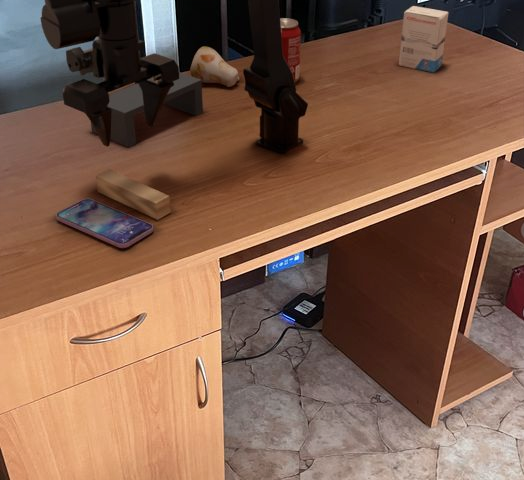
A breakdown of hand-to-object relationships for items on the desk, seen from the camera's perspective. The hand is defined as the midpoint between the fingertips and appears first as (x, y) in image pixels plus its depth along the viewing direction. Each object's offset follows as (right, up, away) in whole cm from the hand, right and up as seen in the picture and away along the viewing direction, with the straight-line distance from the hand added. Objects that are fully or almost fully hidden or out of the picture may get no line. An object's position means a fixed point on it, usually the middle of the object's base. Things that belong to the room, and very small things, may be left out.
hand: (128, 135), depth 123 cm
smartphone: (-4, -14, -1) cm, 15 cm away
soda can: (+26, +24, +44) cm, 56 cm away
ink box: (+56, +29, +51) cm, 81 cm away
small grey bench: (-1, +10, +28) cm, 30 cm away
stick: (0, -9, +5) cm, 11 cm away
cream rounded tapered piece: (+11, +23, +43) cm, 50 cm away
